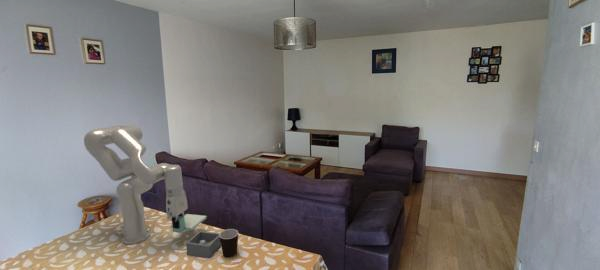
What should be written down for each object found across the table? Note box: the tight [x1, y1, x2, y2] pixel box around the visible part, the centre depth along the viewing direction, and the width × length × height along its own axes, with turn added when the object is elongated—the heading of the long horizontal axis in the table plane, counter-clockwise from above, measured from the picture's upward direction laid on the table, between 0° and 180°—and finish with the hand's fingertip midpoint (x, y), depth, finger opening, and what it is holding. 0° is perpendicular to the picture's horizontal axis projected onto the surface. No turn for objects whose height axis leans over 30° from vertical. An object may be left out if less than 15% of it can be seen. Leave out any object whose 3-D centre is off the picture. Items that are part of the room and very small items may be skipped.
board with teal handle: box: [170, 213, 208, 233], centre depth 142 cm, size 16×12×7 cm
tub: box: [185, 230, 222, 259], centre depth 132 cm, size 12×11×6 cm
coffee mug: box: [219, 228, 239, 259], centre depth 130 cm, size 12×9×10 cm
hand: (178, 225), depth 136 cm, fingers closed on board with teal handle, 3 cm apart
